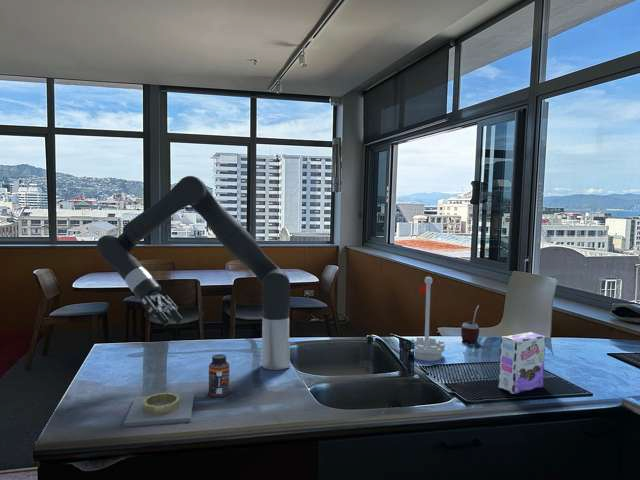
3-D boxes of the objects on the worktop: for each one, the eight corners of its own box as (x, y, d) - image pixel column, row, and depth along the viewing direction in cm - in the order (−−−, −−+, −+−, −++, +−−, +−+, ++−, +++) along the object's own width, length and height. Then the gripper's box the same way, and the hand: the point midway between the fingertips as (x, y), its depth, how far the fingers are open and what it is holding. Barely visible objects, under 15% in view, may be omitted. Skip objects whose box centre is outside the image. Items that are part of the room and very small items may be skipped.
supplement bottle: (224, 398, 133) (224, 360, 133) (205, 396, 134) (204, 358, 134) (232, 390, 139) (232, 353, 138) (213, 388, 140) (213, 352, 140)
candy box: (513, 394, 139) (515, 340, 138) (497, 388, 144) (499, 335, 143) (544, 387, 146) (546, 335, 144) (527, 380, 151) (530, 331, 150)
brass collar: (180, 398, 130) (180, 391, 130) (177, 413, 121) (177, 405, 121) (146, 401, 128) (146, 394, 128) (140, 415, 119) (140, 408, 119)
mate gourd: (462, 344, 191) (463, 308, 190) (459, 338, 198) (460, 304, 197) (481, 345, 189) (482, 309, 188) (477, 340, 197) (479, 305, 196)
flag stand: (451, 357, 173) (454, 277, 171) (427, 363, 166) (429, 280, 164) (425, 348, 184) (427, 273, 182) (401, 354, 177) (403, 275, 175)
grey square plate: (194, 396, 134) (194, 393, 134) (190, 421, 119) (190, 417, 119) (135, 400, 131) (135, 397, 131) (123, 426, 115) (123, 422, 115)
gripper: (138, 276, 141) (171, 315, 138) (162, 276, 155) (192, 313, 152) (121, 293, 141) (153, 333, 138) (146, 292, 155) (176, 328, 152)
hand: (174, 322), depth 145 cm, fingers open, 8 cm apart
